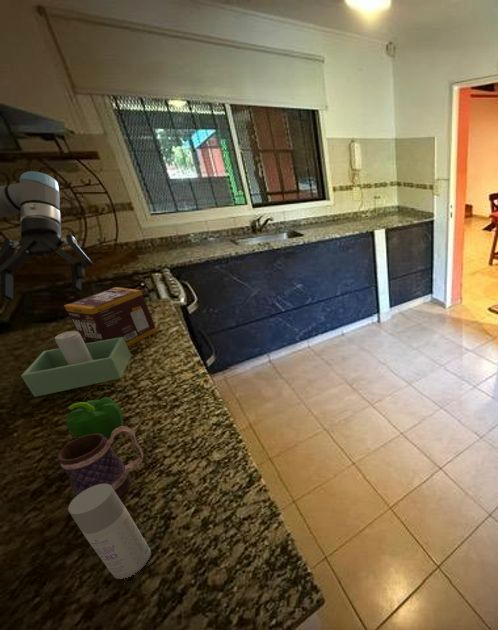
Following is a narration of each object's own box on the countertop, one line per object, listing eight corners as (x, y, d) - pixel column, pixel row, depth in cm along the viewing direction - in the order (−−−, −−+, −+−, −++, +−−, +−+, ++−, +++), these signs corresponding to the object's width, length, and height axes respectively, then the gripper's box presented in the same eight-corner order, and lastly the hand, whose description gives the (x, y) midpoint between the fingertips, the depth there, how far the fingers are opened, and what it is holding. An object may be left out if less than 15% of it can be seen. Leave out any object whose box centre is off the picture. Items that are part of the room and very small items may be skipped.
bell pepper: (135, 418, 80) (118, 383, 75) (122, 444, 73) (102, 407, 68) (90, 427, 77) (70, 392, 73) (72, 455, 70) (48, 418, 66)
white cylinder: (74, 380, 92) (53, 341, 86) (75, 371, 95) (55, 334, 90) (97, 373, 94) (78, 335, 89) (98, 365, 98) (79, 328, 92)
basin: (34, 397, 86) (20, 375, 83) (54, 370, 96) (43, 351, 93) (121, 378, 93) (111, 358, 90) (131, 355, 103) (123, 336, 101)
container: (111, 587, 49) (63, 522, 43) (113, 558, 53) (69, 494, 46) (151, 566, 52) (112, 501, 45) (151, 540, 55) (114, 476, 48)
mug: (84, 518, 58) (51, 469, 53) (82, 491, 63) (51, 443, 58) (156, 482, 65) (133, 435, 59) (150, 459, 69) (127, 414, 64)
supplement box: (85, 351, 106) (62, 305, 99) (133, 328, 119) (116, 286, 112) (111, 355, 103) (89, 309, 96) (157, 331, 117) (141, 289, 110)
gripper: (-35, 219, 86) (-38, 295, 81) (91, 212, 96) (96, 279, 91) (-11, 235, 93) (-13, 306, 88) (104, 227, 103) (110, 291, 97)
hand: (43, 293), depth 89 cm, fingers open, 13 cm apart
